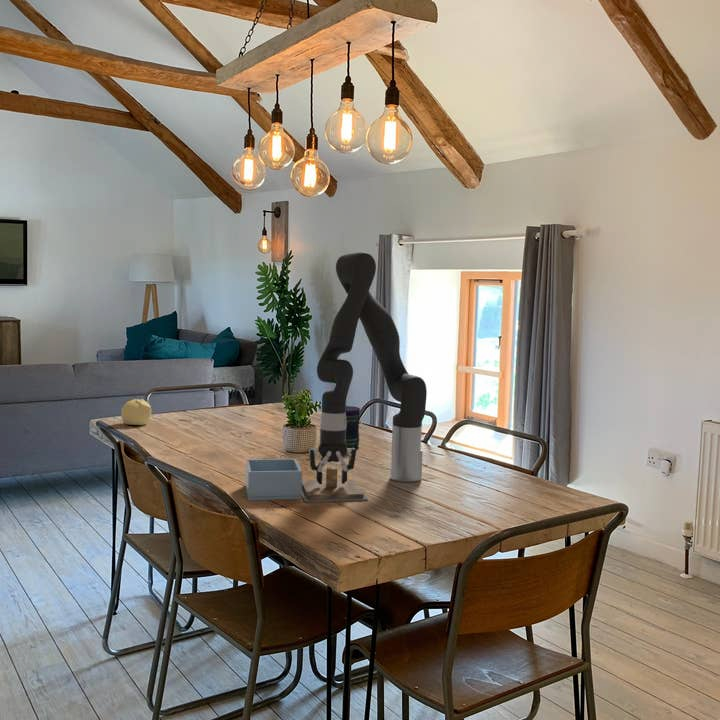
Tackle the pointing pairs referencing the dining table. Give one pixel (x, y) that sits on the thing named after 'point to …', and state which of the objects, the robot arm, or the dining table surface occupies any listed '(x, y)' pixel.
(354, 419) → the storage jar
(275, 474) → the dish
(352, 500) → the mat
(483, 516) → the dining table surface
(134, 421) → the pale yellow rounded lump
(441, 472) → the dining table surface
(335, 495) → the lid
